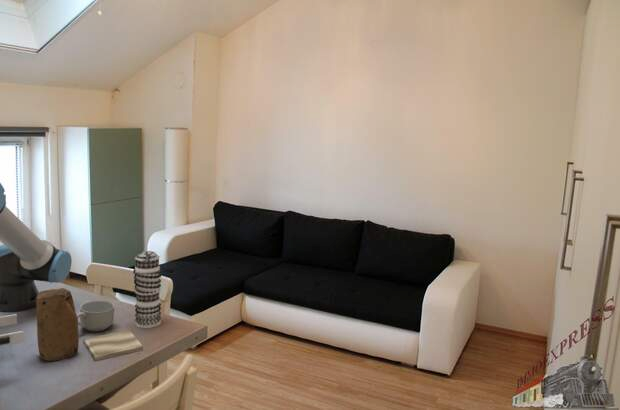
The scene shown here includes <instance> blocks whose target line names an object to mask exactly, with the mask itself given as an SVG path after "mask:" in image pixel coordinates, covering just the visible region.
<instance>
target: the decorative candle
mask: <svg viewBox="0 0 620 410" xmlns="http://www.w3.org/2000/svg"><path fill="white" fill-rule="evenodd" d="M134 259H135V266H134V269H133V272H132V273H133V274H134V275H133V284H134V293H135V296H136V298H135V304H134V307H135V310H134V311H135V313H134V317H135V318H134V320H135V327H138V328H141V329H150V328H154V327H158V326H160V325H161V323H162V316H161V315H162V312H161V309H162V307H161V306H162V303H161V298H160V292H161V288H162V284H161V282H162V280H161V279H160V278H161V277H162V274H161V273H162V272H163V271H162V269H160V268H161V267H160V256H159V255H158V254H157V253H156V252H155V251H152V250H145V251H141V252H138V254H137V255H136V256H134Z"/></svg>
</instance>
